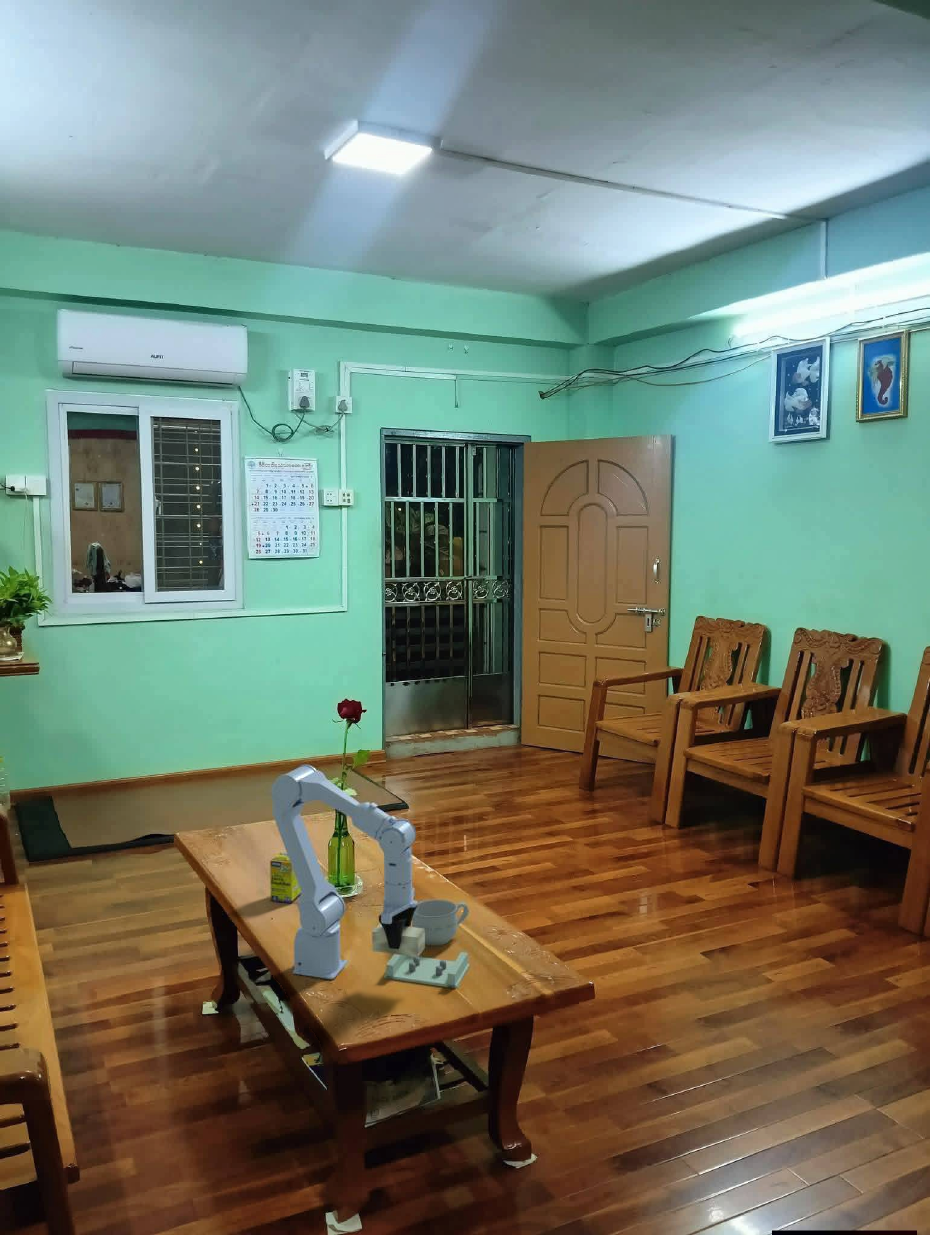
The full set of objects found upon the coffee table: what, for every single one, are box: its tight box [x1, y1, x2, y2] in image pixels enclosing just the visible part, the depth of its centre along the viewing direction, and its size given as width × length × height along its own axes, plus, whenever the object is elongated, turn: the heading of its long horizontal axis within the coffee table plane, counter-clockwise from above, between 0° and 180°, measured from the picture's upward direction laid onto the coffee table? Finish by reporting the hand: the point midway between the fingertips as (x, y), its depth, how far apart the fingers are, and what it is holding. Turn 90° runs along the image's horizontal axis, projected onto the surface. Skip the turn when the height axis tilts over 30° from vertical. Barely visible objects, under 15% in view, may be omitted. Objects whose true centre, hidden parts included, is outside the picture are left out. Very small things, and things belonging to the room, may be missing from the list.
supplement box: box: [269, 852, 301, 905], centre depth 239 cm, size 6×6×11 cm
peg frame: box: [383, 951, 471, 989], centre depth 201 cm, size 16×10×3 cm, turn 74°
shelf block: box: [371, 923, 426, 957], centre depth 195 cm, size 10×4×4 cm, turn 74°
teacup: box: [411, 898, 470, 947], centre depth 217 cm, size 14×11×8 cm
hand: (398, 942), depth 195 cm, fingers closed on shelf block, 4 cm apart
